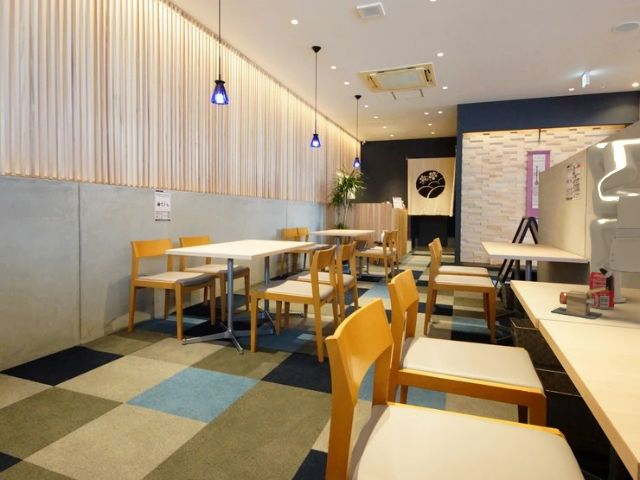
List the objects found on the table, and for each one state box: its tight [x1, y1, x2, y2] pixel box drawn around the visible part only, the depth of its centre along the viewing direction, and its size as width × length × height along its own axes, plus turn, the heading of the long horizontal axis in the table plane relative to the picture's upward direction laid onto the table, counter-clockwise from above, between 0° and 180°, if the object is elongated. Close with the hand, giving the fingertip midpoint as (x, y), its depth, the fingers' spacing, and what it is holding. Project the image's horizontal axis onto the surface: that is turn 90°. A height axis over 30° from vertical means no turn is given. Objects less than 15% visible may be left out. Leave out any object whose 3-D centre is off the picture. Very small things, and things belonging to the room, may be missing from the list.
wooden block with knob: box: [550, 289, 603, 320], centre depth 124 cm, size 10×12×7 cm
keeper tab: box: [586, 287, 608, 294], centre depth 119 cm, size 5×5×1 cm
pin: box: [559, 291, 594, 305], centre depth 123 cm, size 4×9×4 cm, turn 42°
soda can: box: [588, 270, 615, 311], centre depth 132 cm, size 7×7×13 cm
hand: (629, 292), depth 113 cm, fingers open, 8 cm apart
